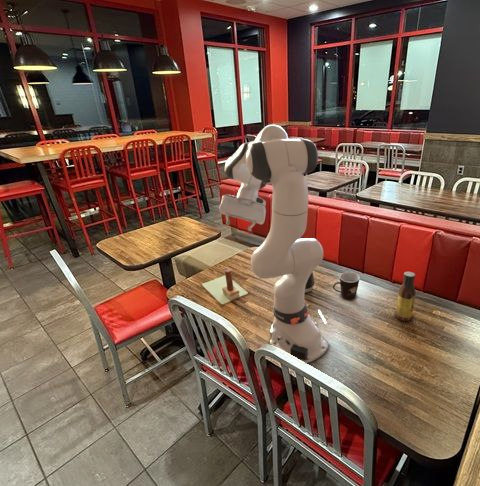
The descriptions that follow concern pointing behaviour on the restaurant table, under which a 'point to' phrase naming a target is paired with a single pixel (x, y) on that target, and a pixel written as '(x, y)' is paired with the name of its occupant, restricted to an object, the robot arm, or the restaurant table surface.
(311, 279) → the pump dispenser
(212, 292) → the scrub mat
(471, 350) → the restaurant table surface
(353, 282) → the coffee mug
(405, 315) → the sauce bottle
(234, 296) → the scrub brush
